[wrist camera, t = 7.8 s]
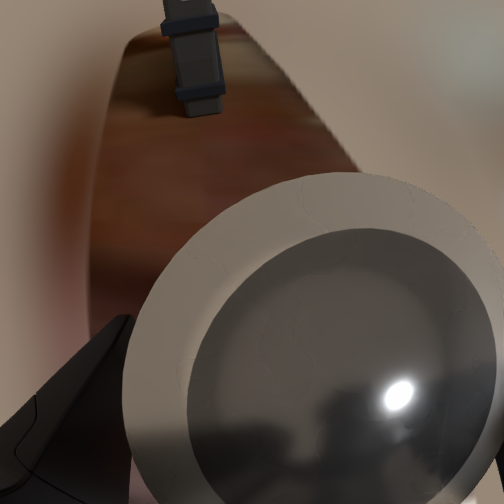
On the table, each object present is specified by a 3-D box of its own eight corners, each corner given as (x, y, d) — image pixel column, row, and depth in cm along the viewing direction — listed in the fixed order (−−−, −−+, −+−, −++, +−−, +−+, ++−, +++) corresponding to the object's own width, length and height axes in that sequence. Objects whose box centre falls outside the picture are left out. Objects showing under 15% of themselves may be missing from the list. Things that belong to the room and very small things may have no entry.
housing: (352, 389, 14) (532, 461, 2) (231, 423, 14) (192, 602, 2) (321, 273, 16) (463, 134, 4) (200, 304, 16) (63, 213, 4)
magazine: (180, 137, 20) (149, -54, 9) (188, 88, 29) (171, -31, 17) (230, 129, 20) (211, -65, 9) (221, 83, 29) (209, -37, 18)
